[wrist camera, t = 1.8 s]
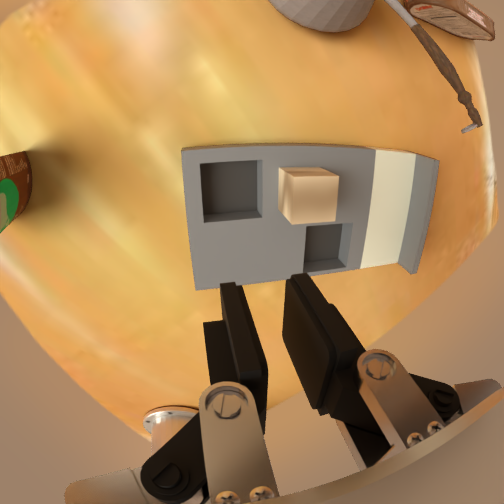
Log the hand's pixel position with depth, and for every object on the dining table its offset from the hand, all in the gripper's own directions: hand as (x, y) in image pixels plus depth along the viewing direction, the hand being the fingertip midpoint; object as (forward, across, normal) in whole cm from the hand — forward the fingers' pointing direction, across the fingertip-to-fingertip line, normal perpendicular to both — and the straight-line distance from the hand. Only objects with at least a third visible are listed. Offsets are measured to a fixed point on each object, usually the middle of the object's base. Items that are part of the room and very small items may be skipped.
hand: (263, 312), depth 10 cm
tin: (+19, -28, -24) cm, 42 cm away
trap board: (+19, -10, +3) cm, 22 cm away
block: (+17, -8, 0) cm, 18 cm away
